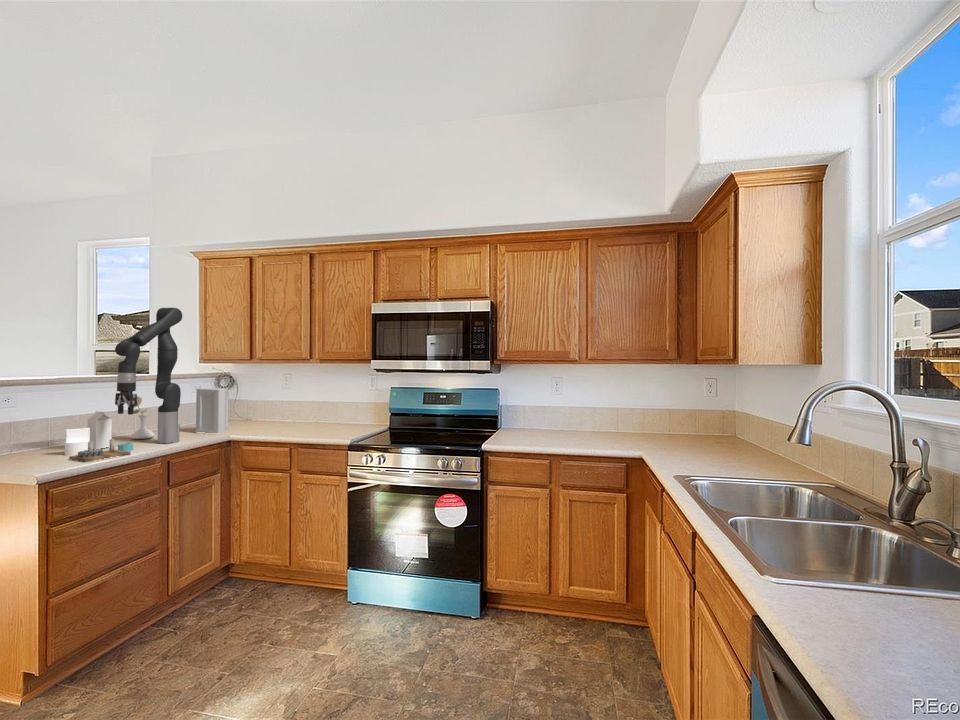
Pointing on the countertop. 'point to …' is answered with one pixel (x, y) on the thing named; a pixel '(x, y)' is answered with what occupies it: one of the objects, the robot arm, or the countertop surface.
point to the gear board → (98, 453)
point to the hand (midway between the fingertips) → (125, 414)
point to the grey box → (212, 410)
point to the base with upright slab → (76, 440)
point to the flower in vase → (142, 424)
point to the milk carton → (100, 430)
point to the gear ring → (125, 446)
